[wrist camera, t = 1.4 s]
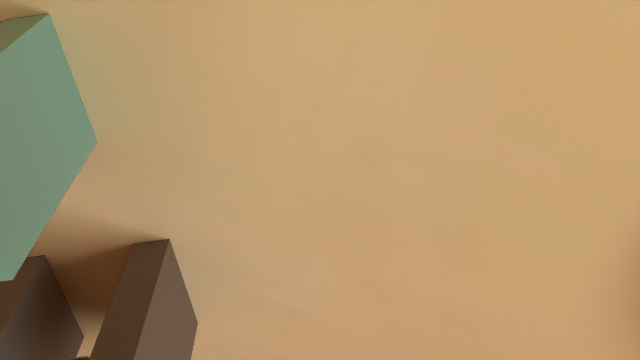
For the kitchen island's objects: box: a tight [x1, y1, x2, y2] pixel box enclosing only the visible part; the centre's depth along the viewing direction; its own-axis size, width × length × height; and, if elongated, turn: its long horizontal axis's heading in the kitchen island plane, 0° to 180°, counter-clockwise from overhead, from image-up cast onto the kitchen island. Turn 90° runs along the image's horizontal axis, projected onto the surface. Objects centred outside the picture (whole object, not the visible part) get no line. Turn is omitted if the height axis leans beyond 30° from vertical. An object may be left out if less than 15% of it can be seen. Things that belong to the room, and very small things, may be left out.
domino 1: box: [0, 14, 97, 281], centre depth 18 cm, size 5×2×8 cm, turn 8°
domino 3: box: [90, 239, 198, 360], centre depth 24 cm, size 5×2×8 cm, turn 8°
